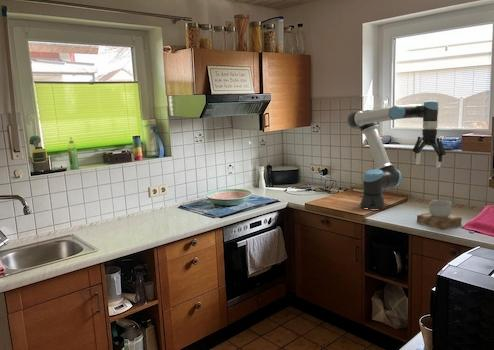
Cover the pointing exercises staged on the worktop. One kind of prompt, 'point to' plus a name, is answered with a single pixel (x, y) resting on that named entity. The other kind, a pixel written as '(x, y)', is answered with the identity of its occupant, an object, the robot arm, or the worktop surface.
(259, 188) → the worktop surface
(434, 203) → the teacup
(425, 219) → the block
